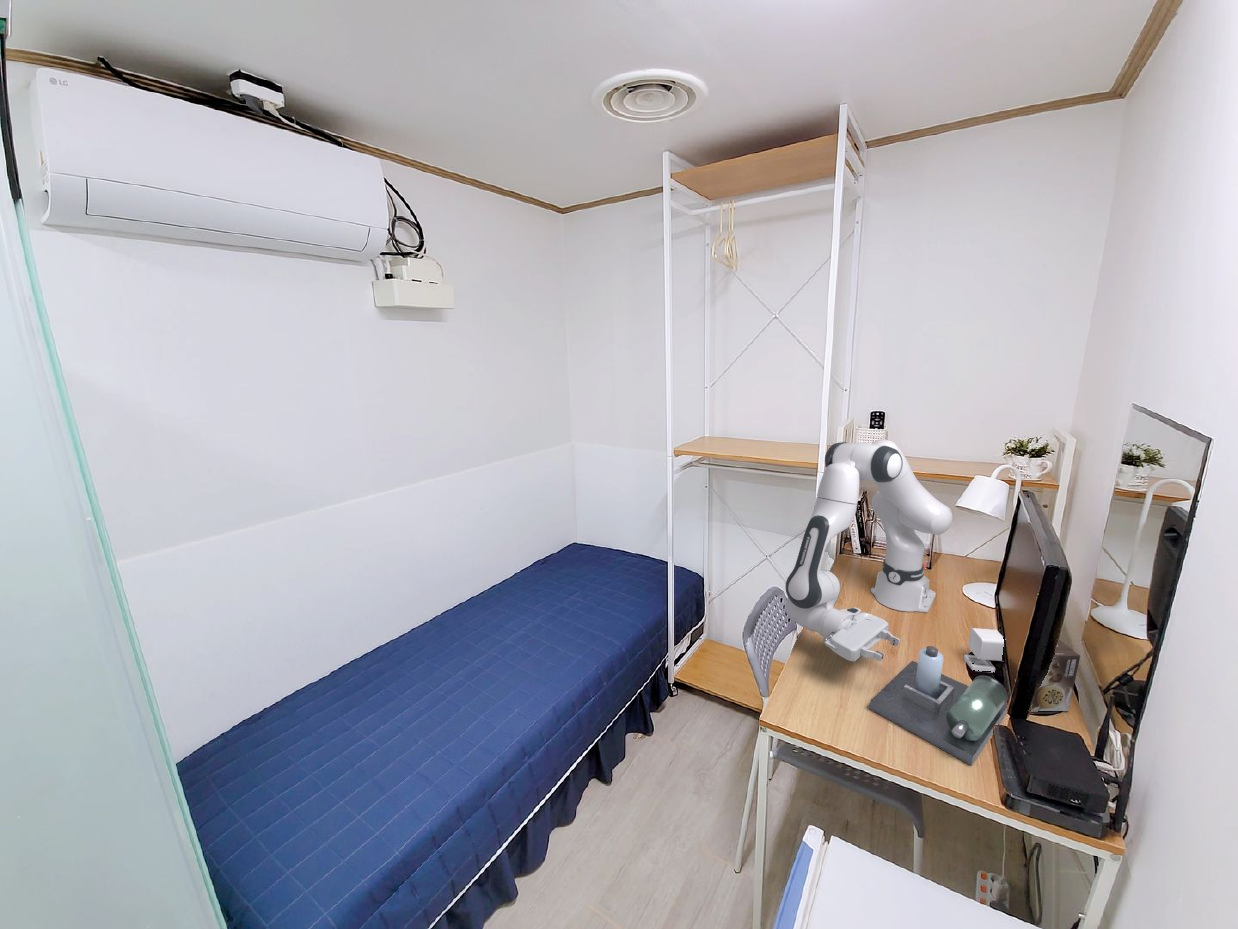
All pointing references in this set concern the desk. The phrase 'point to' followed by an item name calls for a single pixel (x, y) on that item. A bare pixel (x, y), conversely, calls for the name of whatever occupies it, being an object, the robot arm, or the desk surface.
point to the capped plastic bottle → (929, 671)
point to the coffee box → (1058, 681)
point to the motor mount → (945, 711)
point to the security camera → (984, 649)
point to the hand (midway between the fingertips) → (890, 650)
